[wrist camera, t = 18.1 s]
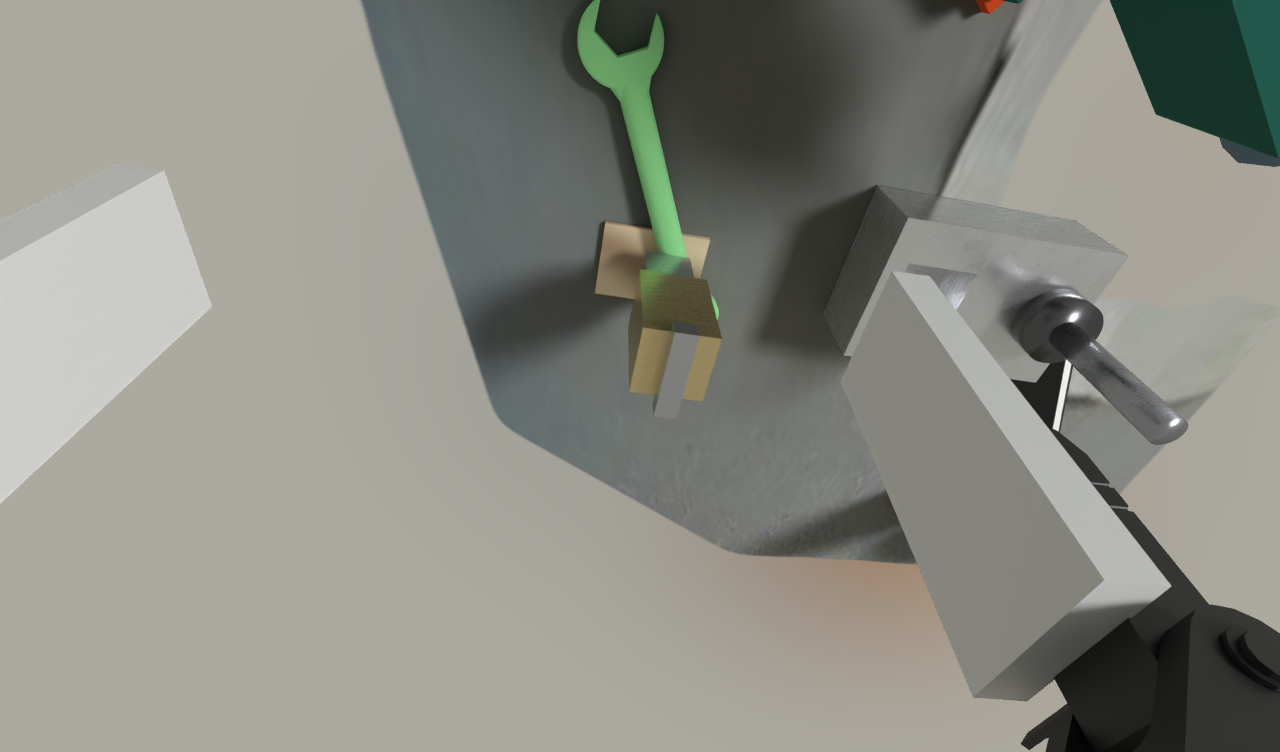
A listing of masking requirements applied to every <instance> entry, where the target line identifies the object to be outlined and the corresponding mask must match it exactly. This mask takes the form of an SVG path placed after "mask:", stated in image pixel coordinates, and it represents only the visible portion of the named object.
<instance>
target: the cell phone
mask: <svg viewBox="0 0 1280 752" xmlns="http://www.w3.org/2000/svg"><path fill="white" fill-rule="evenodd" d="M1072 369H1073V365H1072V364H1071V363H1070V362H1069V361H1068V360H1065V361H1062V362H1057V363H1050V364H1049V365H1048V367H1047V368H1046V370H1045V371H1044V372H1043V374H1042V375H1041V376H1040V378H1039V379H1038V380H1037V382H1036V383H1035V382H1028V381H1021V380H1014V379H1010V380H1011V381H1012V382H1013V384H1014V385H1015V386H1016V388H1017V389H1018V390H1019V391H1020V393H1021V394H1022V395H1023V397H1024V398H1025V399H1026V400H1027V402H1028V403H1029V404H1030V405H1031V407H1032V408H1033V409H1034V411H1035V412H1036V413H1037V414H1038V416H1039V417H1040V418H1041V420H1042V421H1043V422H1044V423H1045V425H1046V426H1047V427H1048V429H1055V430H1057V431H1058V430H1059V433H1060V430H1061V425H1062V420H1063V415H1064V410H1065V404H1066V399H1067V394H1068V389H1069V384H1070V379H1071V374H1072ZM1061 416H1062V417H1061ZM1060 420H1061V422H1060ZM1059 425H1060V427H1059Z"/></svg>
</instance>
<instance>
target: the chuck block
mask: <svg viewBox="0 0 1280 752" xmlns="http://www.w3.org/2000/svg"><path fill="white" fill-rule="evenodd" d="M1128 256H1129V255H1127V254H1125V253H1124V252H1123V251H1121V250H1119V249H1118V248H1117V247H1115V246H1114V245H1112V244H1110V243H1109V242H1107V241H1106V240H1104V239H1103V238H1101V237H1100V236H1098V235H1097V234H1095V233H1094V232H1092V231H1091V230H1089V229H1088V228H1086V227H1085V226H1083V225H1082V224H1080V223H1079V222H1077V221H1076V220H1069V219H1064V218H1059V217H1053V216H1047V215H1042V214H1036V213H1031V212H1025V211H1020V210H1014V209H1008V208H1003V207H997V206H992V205H986V204H980V203H975V202H969V201H964V200H958V199H952V198H947V197H941V196H936V195H930V194H924V193H919V192H913V191H908V190H902V189H896V188H891V187H885V186H880V185H877V187H876V189H875V192H874V194H873V196H872V199H871V201H870V203H869V206H868V208H867V210H866V213H865V215H864V218H863V220H862V222H861V225H860V227H859V229H858V232H857V234H856V236H855V239H854V241H853V244H852V246H851V248H850V251H849V253H848V255H847V258H846V260H845V262H844V265H843V267H842V270H841V272H840V274H839V277H838V279H837V281H836V284H835V286H834V289H833V291H832V293H831V296H830V298H829V300H828V303H827V305H826V307H825V310H824V312H823V315H824V317H825V319H826V321H827V323H828V325H829V327H830V329H831V331H832V333H833V335H834V337H835V339H836V341H837V343H838V345H839V347H840V349H841V351H842V353H843V355H844V356H851V357H852V356H853V353H854V351H855V349H856V347H857V345H858V343H859V340H860V338H861V336H862V334H863V332H864V330H865V327H866V325H867V323H868V321H869V319H870V317H871V314H872V312H873V310H874V308H875V306H876V304H877V301H878V299H879V297H880V295H881V293H882V291H883V288H884V286H885V284H886V282H887V280H888V278H889V275H890V273H891V271H896V272H903V273H911V274H918V275H925V276H930V278H931V279H932V280H933V281H934V283H935V284H936V285H937V286H938V288H939V289H940V290H941V292H942V293H943V294H944V295H945V297H946V298H947V299H948V301H949V302H950V303H951V304H952V306H953V307H954V308H955V309H956V311H957V312H958V313H959V315H960V316H961V317H962V318H963V320H964V321H965V322H966V324H967V325H968V326H969V327H970V329H971V330H972V331H973V333H974V334H975V335H976V336H977V338H978V339H979V340H980V341H981V343H982V344H983V345H984V347H985V348H986V349H987V350H988V352H989V353H990V354H991V356H992V357H993V358H994V359H995V361H996V362H997V363H998V365H999V366H1000V367H1001V368H1002V370H1003V371H1004V372H1005V373H1006V375H1007V376H1008V377H1009V379H1014V380H1021V381H1028V382H1035V383H1036V382H1037V380H1038V379H1039V378H1040V376H1041V375H1042V374H1043V372H1044V371H1045V370H1046V368H1047V367H1048V365H1049V364H1050V363H1057V362H1062V361H1065V360H1068V361H1069V362H1070V363H1071V364H1072V365H1073V366H1074V367H1075V368H1076V369H1077V370H1078V371H1079V372H1080V373H1081V374H1082V375H1083V376H1084V377H1085V378H1086V379H1087V380H1088V381H1089V382H1090V383H1091V384H1092V385H1093V386H1094V387H1095V388H1096V389H1097V390H1098V391H1099V392H1100V393H1101V394H1102V395H1103V396H1104V397H1105V398H1106V399H1107V400H1108V401H1109V402H1110V403H1111V404H1112V405H1113V406H1114V407H1115V408H1116V409H1117V410H1118V411H1119V412H1120V413H1121V414H1122V415H1123V416H1124V417H1125V418H1126V419H1127V420H1128V421H1129V422H1130V423H1131V424H1132V425H1133V426H1134V427H1135V428H1136V429H1137V430H1138V431H1139V432H1140V433H1141V434H1142V435H1143V436H1144V437H1145V438H1146V439H1147V440H1148V441H1149V442H1150V443H1152V444H1155V445H1162V444H1167V443H1170V442H1172V441H1174V440H1176V439H1178V438H1179V437H1180V436H1182V435H1183V434H1184V433H1185V432H1186V430H1187V428H1188V423H1187V421H1186V420H1185V419H1183V418H1182V417H1181V416H1180V415H1179V414H1178V413H1177V412H1176V411H1174V410H1173V409H1172V408H1171V407H1170V406H1169V405H1168V404H1167V403H1165V402H1164V401H1163V400H1162V399H1161V398H1160V397H1159V396H1158V395H1156V394H1155V393H1154V392H1153V391H1152V390H1151V389H1150V388H1149V387H1147V386H1146V385H1145V384H1144V383H1143V382H1142V381H1141V380H1140V379H1138V378H1137V377H1136V376H1135V375H1134V374H1133V373H1132V372H1131V371H1129V370H1128V369H1127V368H1126V367H1125V366H1124V365H1123V364H1122V363H1120V362H1119V361H1118V360H1117V359H1116V358H1115V357H1114V356H1113V355H1111V354H1110V353H1109V352H1108V351H1107V350H1106V349H1105V348H1104V347H1102V346H1101V345H1100V344H1099V343H1098V342H1097V341H1096V339H1097V337H1098V336H1099V334H1100V332H1101V330H1102V327H1103V315H1102V313H1101V311H1100V310H1099V309H1098V308H1097V307H1095V306H1094V305H1093V304H1094V303H1095V302H1096V300H1097V299H1098V297H1099V296H1100V295H1101V293H1102V292H1103V291H1104V289H1105V288H1106V287H1107V285H1108V284H1109V282H1110V281H1111V280H1112V278H1113V277H1114V276H1115V274H1116V273H1117V271H1118V270H1119V269H1120V267H1121V266H1122V265H1123V263H1124V262H1125V261H1126V259H1127V258H1128Z"/></svg>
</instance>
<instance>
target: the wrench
mask: <svg viewBox="0 0 1280 752" xmlns="http://www.w3.org/2000/svg"><path fill="white" fill-rule="evenodd" d="M599 5H600V0H593V1H592V3H591V4H590V5H589V6H588V7H587V8H586V10H585V12H584V14H583V15H582V18H581V20H580V23H579V27H578V33H577V46H578V51H579V55H580V58H581V61H582V63H583V65H584V67H585V69H586V70H587V72H588V73H589V74H590V75H591V76H592V77H593V79H595V80H596V81H597V82H599V83H600V84H602V85H604V86H606V87H608V88H610V89H611V90H612V92H613V93H614V94H615V96H616V97H617V98H618V100H619V101H620V104H621V108H622V112H623V116H624V119H625V123H626V127H627V131H628V135H629V139H630V143H631V147H632V151H633V154H634V158H635V162H636V166H637V170H638V174H639V178H640V182H641V185H642V189H643V193H644V197H645V201H646V205H647V209H648V213H649V216H650V220H651V224H652V228H653V232H654V236H655V240H656V244H657V248H658V251H659V253H661V254H667V255H673V256H679V257H685V258H687V255H686V251H685V246H684V242H683V237H682V233H681V229H680V224H679V220H678V216H677V211H676V207H675V203H674V198H673V194H672V190H671V185H670V181H669V177H668V172H667V168H666V164H665V159H664V155H663V150H662V146H661V142H660V137H659V133H658V129H657V124H656V120H655V116H654V111H653V107H652V103H651V98H650V94H649V88H650V82H651V76H652V75H653V74H654V72H655V71H656V69H657V68H658V66H659V63H660V61H661V59H662V55H663V51H664V31H663V27H662V23H661V20H660V18H659V16H658V14H657V12H656V16H655V19H654V23H653V27H652V31H651V35H650V39H649V43H648V46H647V47H644V48H641V49H637V50H634V51H630V52H627V53H624V54H620V55H617V54H616V53H615V52H614V51H613V50H612V49H611V48H610V46H609V45H608V44H607V43H606V42H605V41H604V40H603V39H602V38H601V36H600V35H599V34H598V33H597V32H596V31H595V25H596V20H597V15H598V10H599ZM711 298H712V302H713V306H714V310H715V314H716V318H717V320H718V316H719V312H718V307H717V303H716V300H715V299H714V297H713V296H712V295H711Z"/></svg>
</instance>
